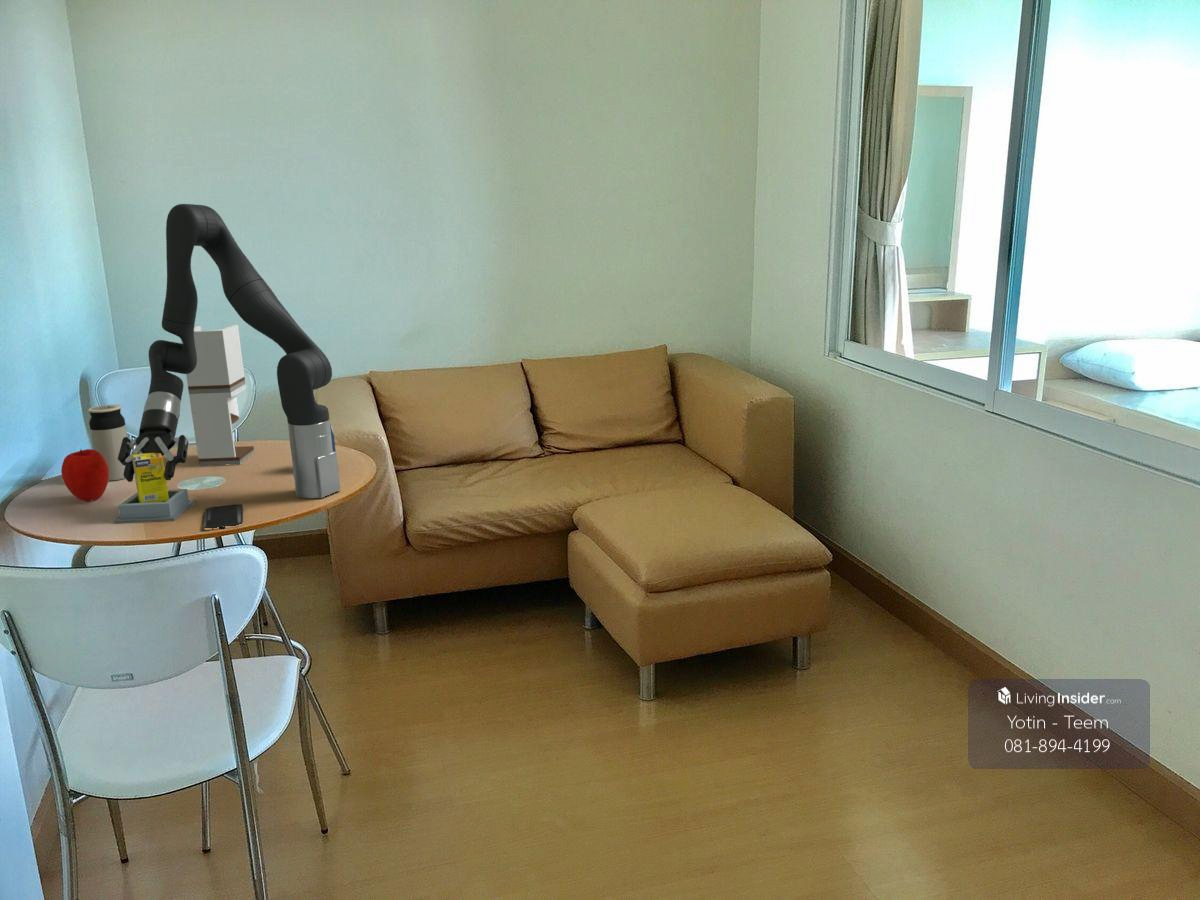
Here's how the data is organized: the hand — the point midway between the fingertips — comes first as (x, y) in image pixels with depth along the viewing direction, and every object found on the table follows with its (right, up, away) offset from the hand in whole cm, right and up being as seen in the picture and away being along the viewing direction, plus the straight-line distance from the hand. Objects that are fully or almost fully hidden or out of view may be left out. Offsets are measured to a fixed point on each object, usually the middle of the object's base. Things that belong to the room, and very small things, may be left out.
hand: (147, 479), depth 217 cm
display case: (0, +4, +46) cm, 46 cm away
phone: (+18, -9, -2) cm, 20 cm away
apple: (-20, -5, +15) cm, 26 cm away
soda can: (+29, +2, +34) cm, 45 cm away
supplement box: (0, -6, +3) cm, 6 cm away
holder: (0, -7, +3) cm, 8 cm away
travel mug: (-23, -1, +33) cm, 40 cm away
